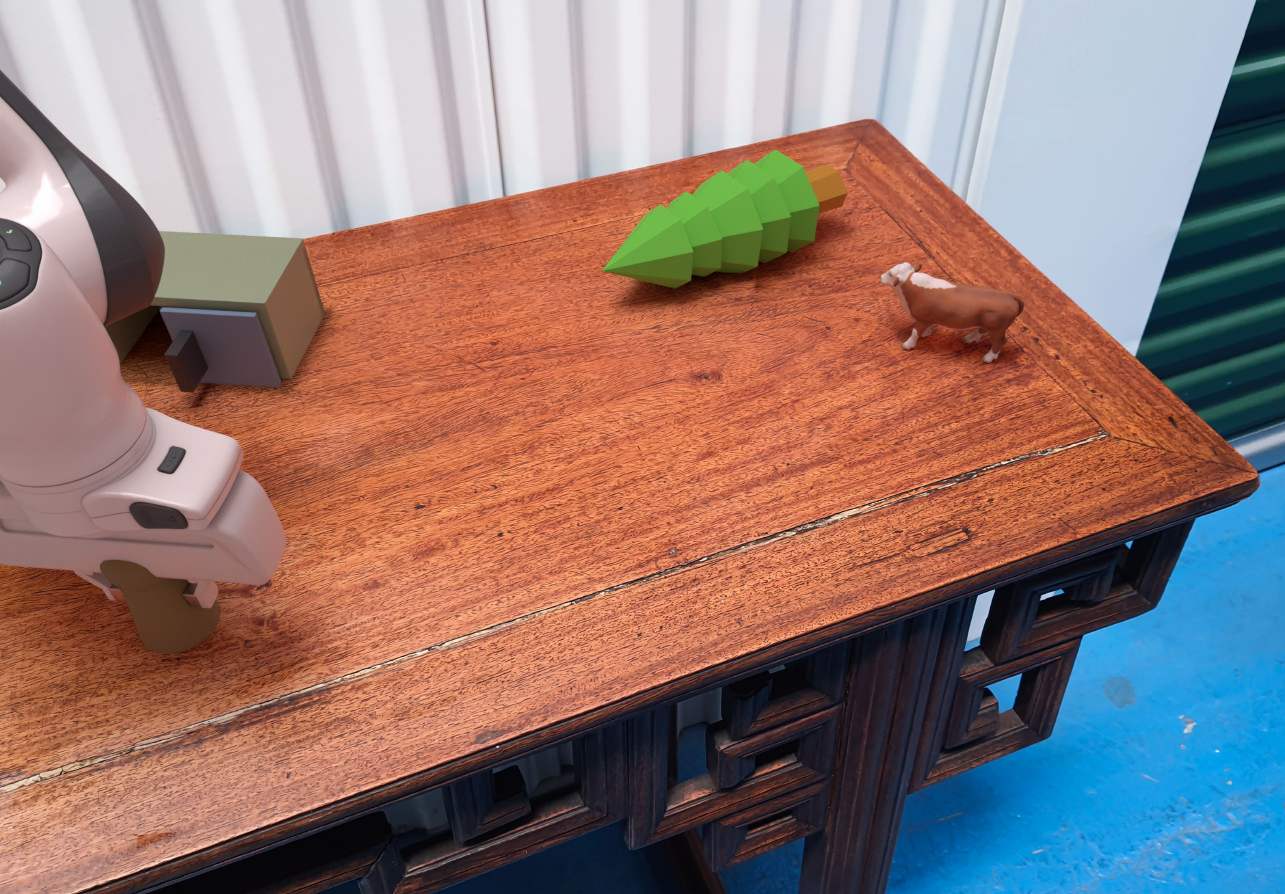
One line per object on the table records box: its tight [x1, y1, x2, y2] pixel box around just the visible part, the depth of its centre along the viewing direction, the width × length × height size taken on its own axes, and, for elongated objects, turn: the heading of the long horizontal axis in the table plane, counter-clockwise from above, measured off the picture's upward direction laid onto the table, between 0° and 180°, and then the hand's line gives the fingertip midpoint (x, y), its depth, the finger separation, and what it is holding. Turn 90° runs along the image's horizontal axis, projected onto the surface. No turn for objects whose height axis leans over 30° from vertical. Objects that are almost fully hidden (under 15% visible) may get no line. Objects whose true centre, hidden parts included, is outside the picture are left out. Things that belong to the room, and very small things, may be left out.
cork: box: [100, 560, 221, 655], centre depth 71 cm, size 6×6×11 cm
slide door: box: [159, 307, 283, 394], centre depth 88 cm, size 9×4×8 cm, turn 84°
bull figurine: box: [879, 261, 1025, 364], centre depth 95 cm, size 4×13×8 cm, turn 70°
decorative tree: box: [601, 149, 848, 289], centre depth 103 cm, size 11×12×30 cm
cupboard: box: [105, 230, 326, 380], centre depth 94 cm, size 18×12×10 cm, turn 84°
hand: (166, 597), depth 72 cm, fingers closed on cork, 4 cm apart
